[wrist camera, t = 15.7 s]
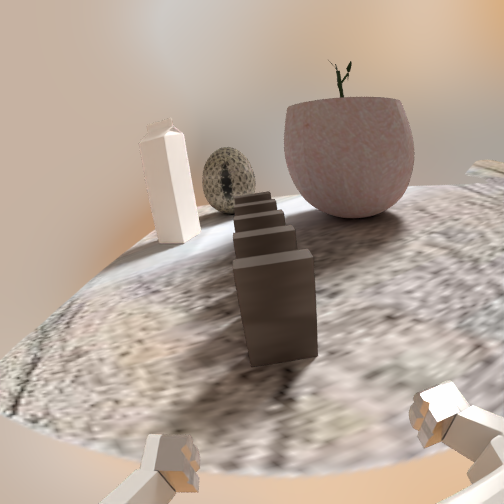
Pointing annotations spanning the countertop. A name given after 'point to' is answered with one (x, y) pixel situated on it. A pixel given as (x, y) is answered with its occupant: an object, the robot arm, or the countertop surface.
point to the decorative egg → (227, 178)
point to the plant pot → (349, 153)
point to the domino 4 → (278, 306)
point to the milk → (169, 183)
